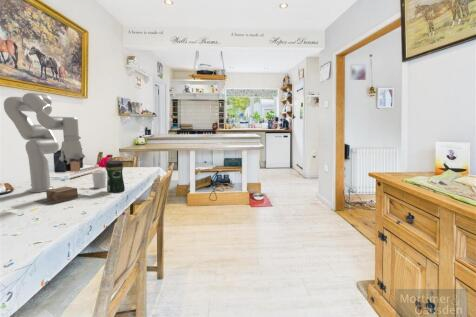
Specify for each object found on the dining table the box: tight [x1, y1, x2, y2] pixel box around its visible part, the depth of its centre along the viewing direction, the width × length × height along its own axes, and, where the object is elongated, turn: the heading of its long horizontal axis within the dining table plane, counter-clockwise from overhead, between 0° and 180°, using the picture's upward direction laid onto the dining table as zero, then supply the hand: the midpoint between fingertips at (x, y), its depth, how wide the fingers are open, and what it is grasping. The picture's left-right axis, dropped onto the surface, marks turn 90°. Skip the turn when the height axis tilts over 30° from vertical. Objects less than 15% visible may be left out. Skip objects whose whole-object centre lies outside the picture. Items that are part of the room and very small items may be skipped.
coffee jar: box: [105, 160, 125, 194], centre depth 166 cm, size 10×8×19 cm
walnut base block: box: [45, 186, 79, 202], centre depth 145 cm, size 10×10×5 cm
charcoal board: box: [33, 193, 89, 206], centre depth 145 cm, size 16×20×2 cm
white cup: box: [91, 170, 107, 189], centre depth 179 cm, size 8×8×10 cm
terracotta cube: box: [69, 160, 81, 173], centre depth 161 cm, size 5×5×5 cm
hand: (73, 169), depth 161 cm, fingers closed on terracotta cube, 5 cm apart
